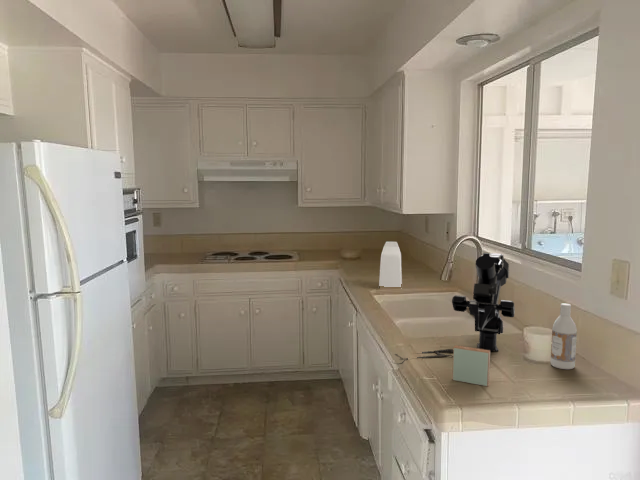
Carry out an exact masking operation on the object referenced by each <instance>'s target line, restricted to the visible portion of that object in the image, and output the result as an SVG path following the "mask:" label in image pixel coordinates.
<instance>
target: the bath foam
mask: <svg viewBox="0 0 640 480" xmlns="http://www.w3.org/2000/svg"><path fill="white" fill-rule="evenodd" d="M571 311H572V304H570V303H565V302H564V303H563V302H562V303H560V311H559V315H558V317H556V319H555V321H554V322H553V325H552V329H551V342H552V344H551V345H550V346H551V347H550V365H551V366H552V367H554V368H557V369H560V370H572V369H574V368H575V365H576V353H577V351H576V350H577V337H578V336H577V335H578V331H577V325H576V323H575V321H574V320H573V318H572V317H571V316H572V315H571V314H572V312H571Z"/></svg>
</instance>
